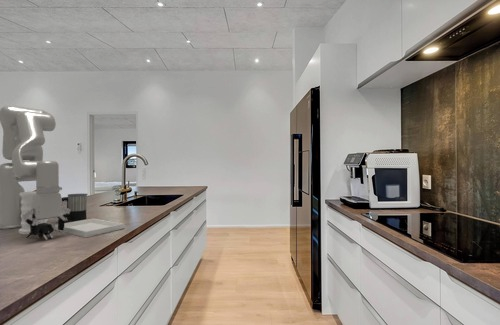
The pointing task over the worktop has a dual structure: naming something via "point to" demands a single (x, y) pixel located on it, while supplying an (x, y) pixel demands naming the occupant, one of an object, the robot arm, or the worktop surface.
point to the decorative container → (26, 207)
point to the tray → (90, 227)
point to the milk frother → (76, 207)
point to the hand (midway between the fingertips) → (48, 232)
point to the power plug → (43, 230)
